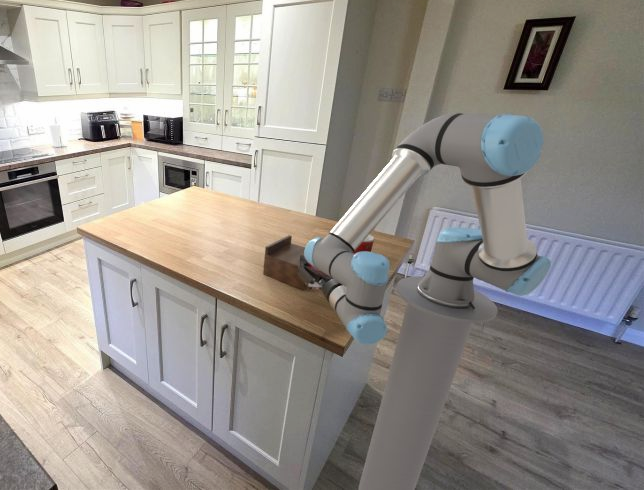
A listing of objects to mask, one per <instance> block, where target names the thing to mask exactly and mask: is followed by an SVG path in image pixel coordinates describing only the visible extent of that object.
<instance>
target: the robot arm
mask: <svg viewBox="0 0 644 490" xmlns="http://www.w3.org/2000/svg"><path fill="white" fill-rule="evenodd" d="M543 147H544V133H543V129H542V127H541V125H540V124H539V123H538V121H537V120H536V119H534V118H533V117H529V116H525V115H515V114H512V113H502V114H482V113H480V114H479V113H461V112H453V113H452V112H451V113H446V114H443V115H440V116H438V117H435V118H432V119H431V120H429V121H427V122H425V123H424V124H422V125H420V126H419V127H418V128H417V127H416V129H415V130H414V131H412V132H411V133H410V134H409V135H407V136H406V137H405V138H404V139H403V140H402V141H401V142H400V143H399V144H398V145H397V146H396V147H395V149H394V150H393V151H392V153H391V155H392V159H391V160H390V161H389V162H388V163H387V164H386V166H385V167H384V168H383V169H382V170H381V172H380V173H379V174H378V175H377V176H376V178H375V179H374V180H373V181H372V182H371V183H370V184H369V185H368V187H367V188H366V189H365V190H364V191H363V192H362V194H361V195H360V196H359V197H358V198H357V200H355V202H353V204H352V205H351V206H350V208H349V209H348V210H347V211H346V213H344V215H343V216H342V217H341V218H340V219H339V221H338V222H337V223H336V224H335V225H334V227H333V228H332V229H331V230H330V231H329V232H328V234H327V235H326V236H325V237H319V236H317V237H314V238H312V239H311V240H309V241H308V242H307V244H306V245H305V246H304V247H305V250H304V256H305V257H304V256H303V255H300V266H298V272H297V274H298V275H299V276H300V277H301V278H302V280H303V281H304V282H305V283H306V284H307V285H306V287H307V289H309V290H313V289H312V288H313V287H318V288H319V289H320V290H319V291H322V294H323V297H324V298H325V300H326V302H328V304H329V305H330V307H331V308H332V309H333V311H334V312H335V314H336V315H337V316H338V318H339V320H340V321H341V322H342V324H343V325H344V327H345V329H346V331H347V333H348V334H350V335H351V336H352V339H354V340H355V341H356V342H357V343H359V344H361V345H368V346H369V345H374V344H378V343H379V342H381V341H382V340H383V339H384V338H385V337H386V335H387V333H388V326H387V323H386V321H385V320H384V317H383V316H382V315H381V314H382V313H381V312H382V309H383V301H384V297H385V294H386V290H387V284H388V282H389V280H390V279H389V278H390V277H389V276H390V275H389V274H390V267H391V263H390V260H389V258H387V257H386V256H384V254H380V253H376V252H374V251H371V252H368V251H363V252H358V253H356V254H353V252H354V251H355V250H356V249H357V248H358V246H359V245H360V244H361V243H362V242H363V241H364V240H365V238H366V237H367V236H368V235H369V234H370V235H371V233H372V232H373V231H374V229H375V228H376V227H377V226H378V225H379V224H380V222H381V221H382V220H383V219H384V218H385V217H386V215H388V213H389V212H390V211H391V210H392V209H393V208H394V207H395V205H396V204H397V203H398V202H399V200H400V199H401V198H402V197H403V196H404V195H405V194H406V192H407V191H408V190H409V189H410V188H411V187H412V185H414V183H415V182H416V181H417V180H418V178H419V177H420V176H424V175H427V174H428V173H430V172H431V170H433V168H434V167H436V166H440V165H445V166H446V165H447V166H450V167H457V168H458V169H459V171H460V176H461V179H462V181H463V182H464V183H465V184H466V185H468V186H471V188H472V194H473V198H474V204H475V208H476V214H477V218H478V223H479V228H480V229H479V228H473V227H461V226H460V227H455V226H454V227H453V226H452V227H446V228H442V229H441V231H440V232H439V234H438V237H437V239H436V241H435V242H436V243H435V246H434V250H433V253H432V258H431V261H430V266H429V269H428V270H427V272H426V273H424V274H423V278H422V280H421V281H420V282H419V284H418V287H417V292H418V293H419V294H420V295H421V296H422V297H424V298H425V299H427V300H429V301H431V302H433V303H436V304H438V305H442V306H446V307H450V308H469V307H471V308H472V309H475V307H474V306H473V303H474V298H475V296H474V290H475V287H474V279H477V280H479V281H481V282H483V283H486V284H488V285H491V286H493V287H495V288H498V289H499V290H502V291H504V292H505V293H510V294H513V295H516V296H519V297H522V296H523V297H524V296H527V295H530V294H531V293H533V292H534V291H535V290H537V288H538V287H539V286H540V285H541V284H542V282H543V281H544V280H545V278H546V277H547V275H549V274H548V273H549V272H550V269H551V266H552V261H551V259H550V258H548V257H546V256H544V255H542V256H541V255H539V254H538V250H537V249H538V248H537V246H536V245H535V243H534V242H533V241H532V240H531V239H529V238H528V235H527V234H528V233H527V225H526V217H525V207H524V205H525V204H524V196H523V188H522V187H523V186H522V178H523V177H524V176H525V175H526V174H527V172H529V171H530V170H531V169H532V168H533V167H534V166H535V165H536V163H537V162H538V161H539V158H540V156H541V149H542V148H543ZM308 262H309V263H310V264H311V265H313V266H314V267H315V268H316V269H318V270H320V271H322V272H323V273H325V274H327V275H328V276H326V275H325V274H323V273H321V274H320V273H319V272H317V271H316V270H314V269H312V268H311V267H309V263H308ZM329 276H330V277H329Z"/></svg>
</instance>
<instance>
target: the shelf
mask: <svg viewBox="0 0 644 490" xmlns="http://www.w3.org/2000/svg"><path fill="white" fill-rule="evenodd" d="M292 237H293V236H292V235H291V234H290V235H289V234H288V235H286V236H284V237H282V238H280V239H278V240H276V241H274V242H271V243H270V244H267V245H265V249H264V259H263V269H262V271H263V274H262V275H264V276H266V277H269V278H271V279H274V280H276V281H279V282H281V283H285V284H287V285H289V286H292V287H295V288H297V289H300V290H302V291H304V290H306V289H307V285H306V283H305V282H304V281H303V280H302V278H301V277H300V276H299V275H298V274H297V272H298V266H300V255H303V256H304V250H305V247H306V246H302V245H298V244H296V243H292ZM304 257H305V256H304Z"/></svg>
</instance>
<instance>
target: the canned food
mask: <svg viewBox="0 0 644 490" xmlns="http://www.w3.org/2000/svg"><path fill="white" fill-rule="evenodd" d="M374 242H375V237H374V236H373V235H371V233H370V234H369V235H368V236H367V237H366V238H365V240H364V241H363V242H362V243H361V244H360V245H359V246H358V248H357V249H356V250H355V251H354V252H353V254H356V253H358V252H363V251H368V252H372V249H373V246H374Z"/></svg>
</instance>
